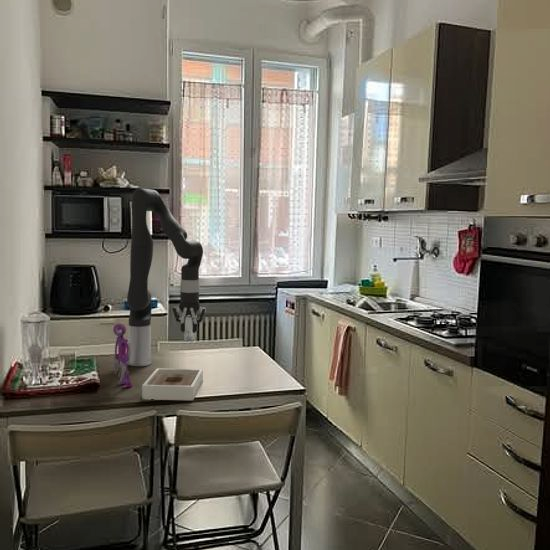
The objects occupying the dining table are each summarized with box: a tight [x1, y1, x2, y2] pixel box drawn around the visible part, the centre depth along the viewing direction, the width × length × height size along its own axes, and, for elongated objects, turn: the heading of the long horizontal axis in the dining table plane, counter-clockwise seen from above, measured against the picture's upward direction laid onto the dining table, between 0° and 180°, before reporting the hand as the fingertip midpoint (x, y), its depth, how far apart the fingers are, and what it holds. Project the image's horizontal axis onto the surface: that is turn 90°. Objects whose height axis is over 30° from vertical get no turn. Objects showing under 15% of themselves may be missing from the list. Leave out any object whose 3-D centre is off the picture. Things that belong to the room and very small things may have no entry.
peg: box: [183, 315, 195, 342], centre depth 230 cm, size 4×4×10 cm
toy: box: [112, 323, 133, 389], centre depth 213 cm, size 16×7×24 cm, turn 37°
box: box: [141, 367, 204, 401], centre depth 211 cm, size 18×22×5 cm
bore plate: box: [151, 374, 196, 386], centre depth 211 cm, size 14×14×3 cm
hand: (189, 332), depth 231 cm, fingers closed on peg, 4 cm apart
